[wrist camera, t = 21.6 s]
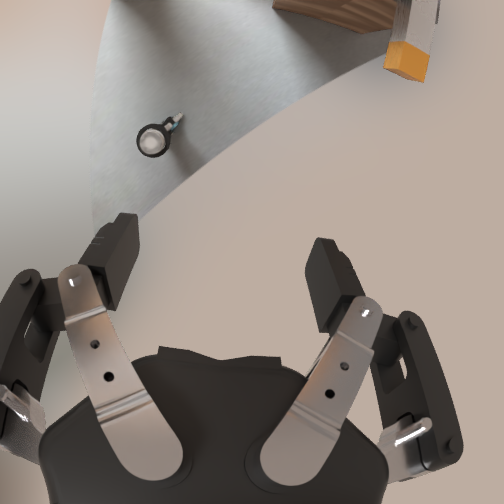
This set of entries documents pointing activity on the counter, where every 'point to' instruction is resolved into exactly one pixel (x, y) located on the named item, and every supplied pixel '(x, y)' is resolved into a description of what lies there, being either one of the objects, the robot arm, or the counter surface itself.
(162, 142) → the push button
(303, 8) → the stand
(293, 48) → the counter surface
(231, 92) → the counter surface
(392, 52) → the bar
